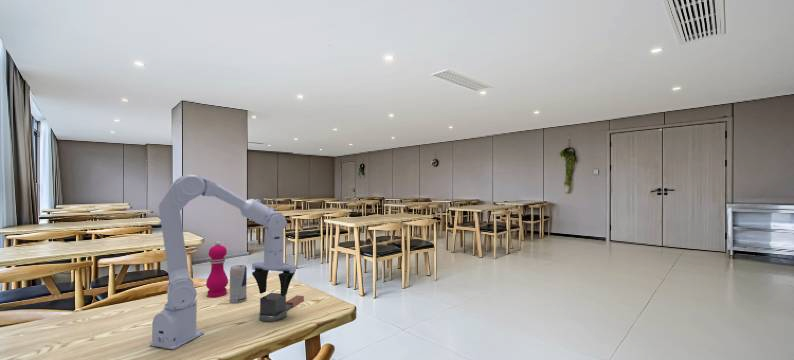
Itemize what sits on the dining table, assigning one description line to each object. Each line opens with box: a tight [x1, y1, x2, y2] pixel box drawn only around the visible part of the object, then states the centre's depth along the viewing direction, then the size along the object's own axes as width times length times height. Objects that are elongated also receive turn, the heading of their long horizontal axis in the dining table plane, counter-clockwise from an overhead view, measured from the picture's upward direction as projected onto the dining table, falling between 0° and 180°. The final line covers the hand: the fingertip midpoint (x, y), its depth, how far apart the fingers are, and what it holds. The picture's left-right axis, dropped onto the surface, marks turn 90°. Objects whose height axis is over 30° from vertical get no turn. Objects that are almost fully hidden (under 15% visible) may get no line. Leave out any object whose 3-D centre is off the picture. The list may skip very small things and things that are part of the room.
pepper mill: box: [205, 240, 229, 298], centre depth 122 cm, size 7×7×20 cm
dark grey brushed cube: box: [259, 292, 287, 317], centre depth 102 cm, size 5×5×5 cm
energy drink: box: [229, 264, 248, 304], centre depth 116 cm, size 5×5×12 cm
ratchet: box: [259, 294, 305, 323], centre depth 108 cm, size 20×8×4 cm, turn 165°
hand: (273, 293), depth 102 cm, fingers open, 7 cm apart
